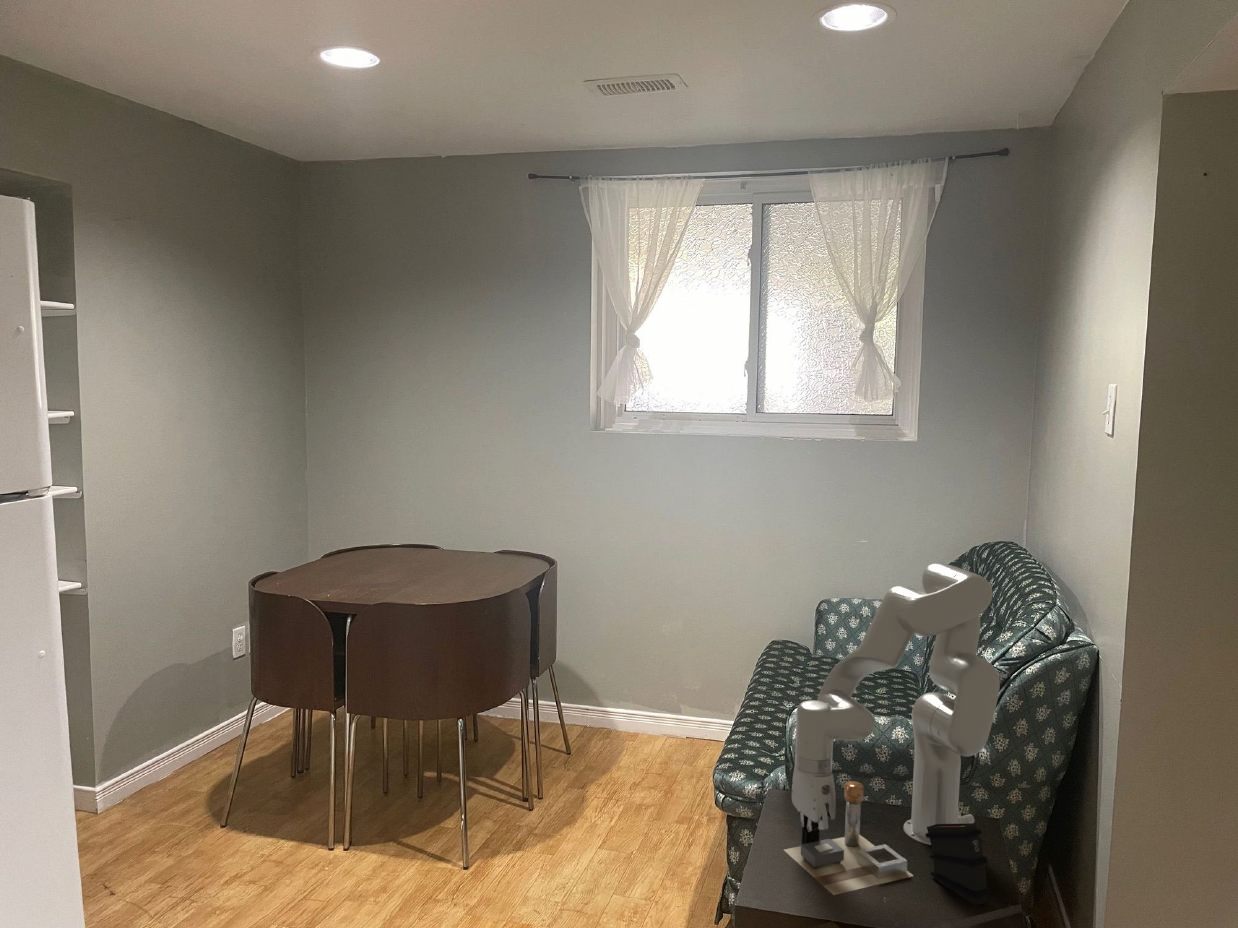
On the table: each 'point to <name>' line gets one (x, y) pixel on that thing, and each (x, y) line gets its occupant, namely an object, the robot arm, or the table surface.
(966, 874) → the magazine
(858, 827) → the awl
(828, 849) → the block
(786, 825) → the table surface
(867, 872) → the board
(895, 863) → the socket
